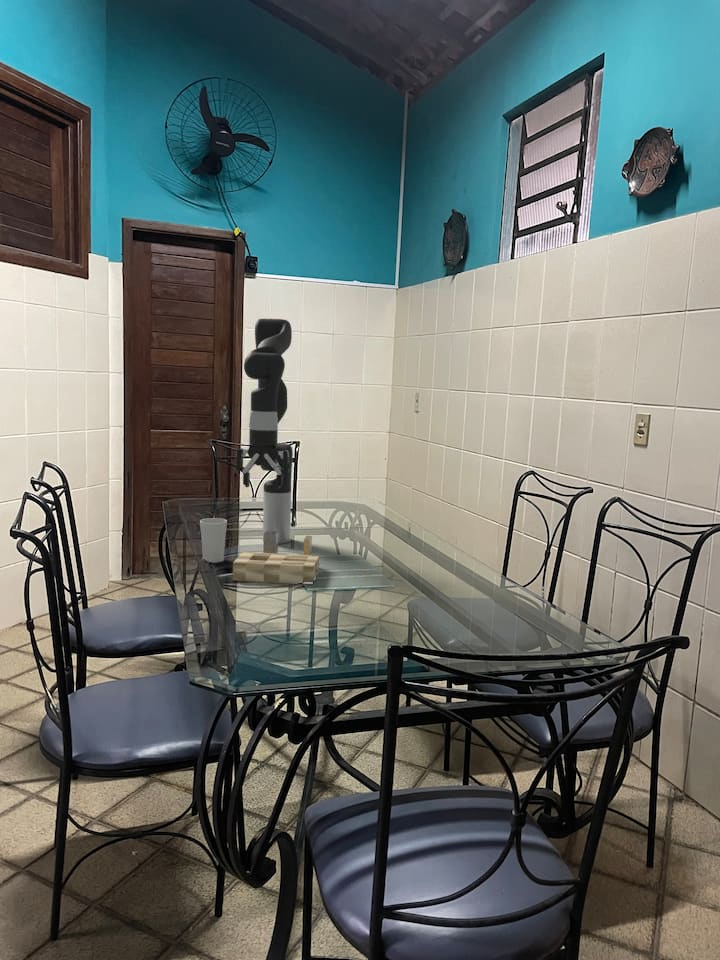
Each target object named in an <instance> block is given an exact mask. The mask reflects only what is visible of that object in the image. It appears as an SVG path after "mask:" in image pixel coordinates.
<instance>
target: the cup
mask: <svg viewBox="0 0 720 960" xmlns="http://www.w3.org/2000/svg"><path fill="white" fill-rule="evenodd" d="M227 525H228V520H227V519H225V518H218V517H213V518H211V517H210V518H203V519H200V520H199V526H200V528H199V529H200V535H201V536H200V537H201V552H202V560H203V559H205V560H207V561H209V562H208V563H210V562H212V563H214V564H215V563H221V562H224V561H225V549H226V548H225V547H226V536H227V535H226V533H227Z"/></svg>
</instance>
